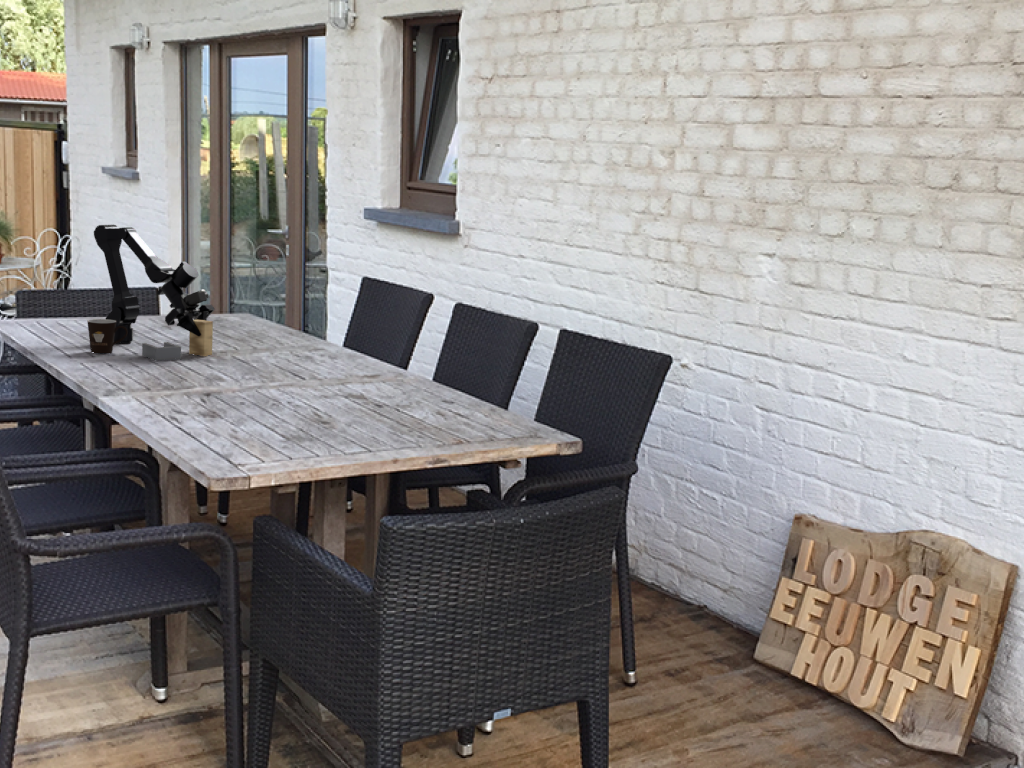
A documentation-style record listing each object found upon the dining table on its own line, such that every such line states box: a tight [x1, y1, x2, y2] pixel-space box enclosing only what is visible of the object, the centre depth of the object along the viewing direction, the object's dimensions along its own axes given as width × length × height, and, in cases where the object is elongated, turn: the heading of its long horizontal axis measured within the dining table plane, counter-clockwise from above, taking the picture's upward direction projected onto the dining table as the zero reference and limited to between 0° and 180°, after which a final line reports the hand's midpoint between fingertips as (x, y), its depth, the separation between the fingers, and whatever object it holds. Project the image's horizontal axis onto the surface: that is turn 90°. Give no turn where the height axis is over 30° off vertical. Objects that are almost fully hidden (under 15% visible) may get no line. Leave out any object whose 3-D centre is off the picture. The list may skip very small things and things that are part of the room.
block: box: [188, 319, 214, 357], centre depth 388 cm, size 6×4×11 cm, turn 66°
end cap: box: [141, 341, 182, 362], centre depth 379 cm, size 10×8×4 cm
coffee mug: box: [87, 318, 128, 354], centre depth 380 cm, size 12×9×10 cm
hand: (204, 334), depth 388 cm, fingers closed on block, 4 cm apart
